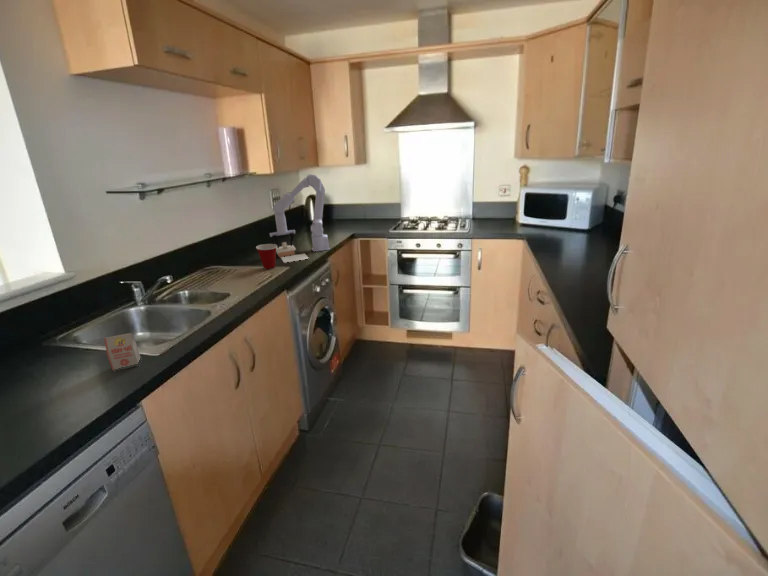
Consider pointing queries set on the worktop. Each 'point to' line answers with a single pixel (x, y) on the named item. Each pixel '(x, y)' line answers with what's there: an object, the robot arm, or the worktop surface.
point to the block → (286, 253)
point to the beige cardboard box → (122, 351)
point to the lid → (285, 248)
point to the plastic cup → (267, 255)
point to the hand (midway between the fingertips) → (284, 247)
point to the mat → (294, 258)
